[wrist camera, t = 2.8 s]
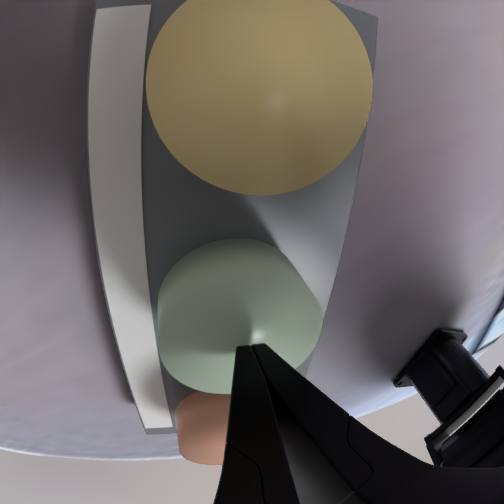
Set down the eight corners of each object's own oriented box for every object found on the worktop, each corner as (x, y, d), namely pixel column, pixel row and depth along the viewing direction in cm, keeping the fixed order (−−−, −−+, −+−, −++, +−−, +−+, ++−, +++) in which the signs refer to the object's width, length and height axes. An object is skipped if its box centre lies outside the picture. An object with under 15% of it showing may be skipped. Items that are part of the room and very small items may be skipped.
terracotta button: (280, 375, 13) (294, 410, 12) (266, 427, 16) (276, 455, 14) (169, 388, 12) (173, 427, 10) (179, 438, 14) (184, 469, 13)
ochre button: (339, 20, 7) (380, 9, 5) (320, 176, 9) (355, 198, 7) (161, -5, 5) (159, -33, 4) (149, 174, 8) (144, 197, 6)
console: (348, 24, 9) (379, 17, 7) (281, 393, 19) (291, 417, 17) (110, 0, 7) (98, -19, 5) (144, 408, 17) (146, 435, 15)
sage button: (310, 236, 10) (339, 267, 8) (287, 345, 12) (304, 381, 11) (151, 241, 9) (149, 279, 7) (164, 358, 11) (167, 399, 9)
